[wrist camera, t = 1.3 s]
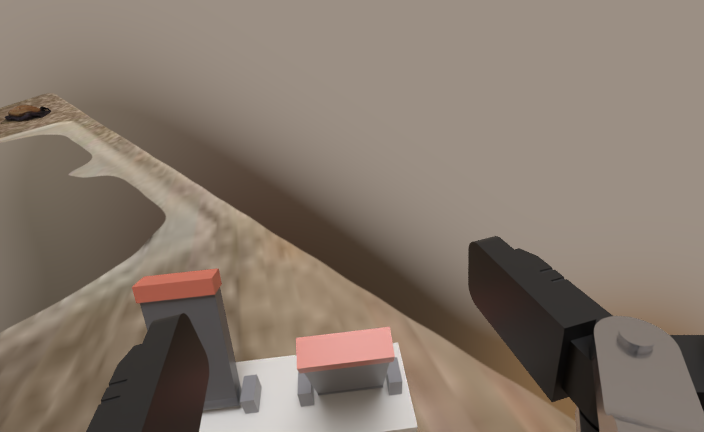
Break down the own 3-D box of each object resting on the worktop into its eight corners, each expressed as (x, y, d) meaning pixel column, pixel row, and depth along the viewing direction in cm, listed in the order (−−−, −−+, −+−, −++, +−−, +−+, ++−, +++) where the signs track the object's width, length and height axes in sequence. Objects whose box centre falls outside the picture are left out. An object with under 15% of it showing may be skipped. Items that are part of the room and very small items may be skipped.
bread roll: (0, 126, 100) (-9, 113, 98) (15, 116, 106) (7, 104, 104) (42, 121, 101) (34, 108, 99) (54, 111, 108) (48, 99, 106)
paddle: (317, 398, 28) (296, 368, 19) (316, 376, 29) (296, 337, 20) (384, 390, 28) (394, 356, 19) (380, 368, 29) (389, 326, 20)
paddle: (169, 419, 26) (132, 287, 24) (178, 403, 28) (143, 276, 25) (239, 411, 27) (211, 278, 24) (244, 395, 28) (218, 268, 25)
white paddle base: (154, 486, 27) (121, 453, 24) (181, 395, 33) (157, 358, 29) (415, 450, 28) (418, 414, 24) (397, 368, 34) (398, 329, 30)
